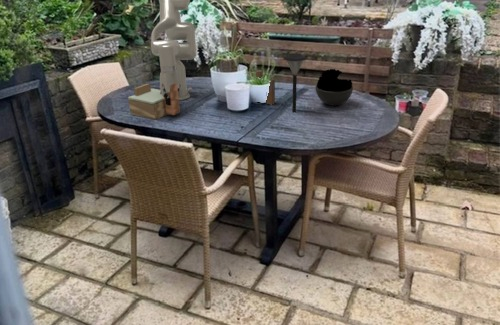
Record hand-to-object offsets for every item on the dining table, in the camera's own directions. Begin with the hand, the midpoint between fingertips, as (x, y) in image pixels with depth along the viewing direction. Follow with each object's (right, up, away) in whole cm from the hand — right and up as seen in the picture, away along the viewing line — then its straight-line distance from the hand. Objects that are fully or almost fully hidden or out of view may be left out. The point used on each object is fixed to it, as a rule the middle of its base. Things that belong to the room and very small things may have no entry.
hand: (172, 103), depth 233 cm
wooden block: (+49, +2, +18) cm, 52 cm away
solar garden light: (+64, -4, +3) cm, 64 cm away
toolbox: (-11, -3, +9) cm, 15 cm away
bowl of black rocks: (+86, +1, +13) cm, 87 cm away
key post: (0, -5, +3) cm, 6 cm away
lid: (-11, +4, +6) cm, 13 cm away
